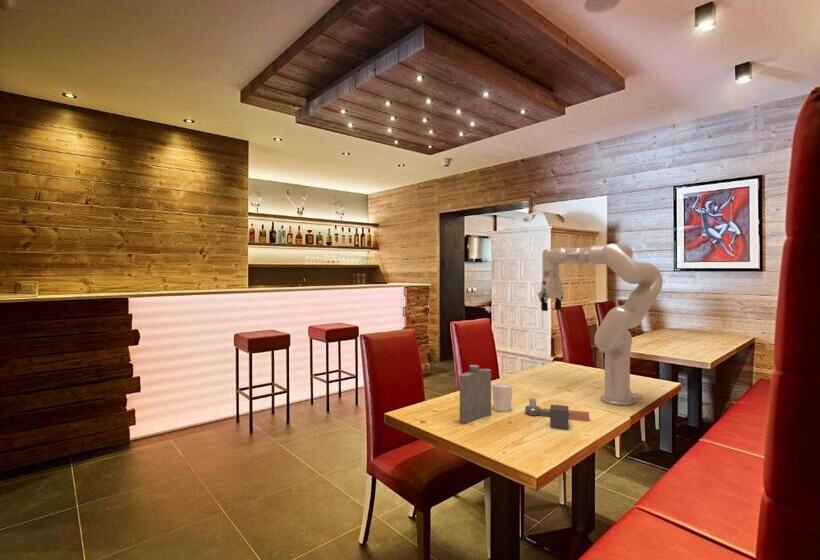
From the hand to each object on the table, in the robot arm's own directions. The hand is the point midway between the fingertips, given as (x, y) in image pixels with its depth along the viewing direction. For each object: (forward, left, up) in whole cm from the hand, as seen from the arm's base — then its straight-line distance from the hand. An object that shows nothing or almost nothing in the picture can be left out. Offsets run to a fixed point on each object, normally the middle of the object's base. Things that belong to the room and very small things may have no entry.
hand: (551, 310), depth 201 cm
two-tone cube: (-5, +55, -37) cm, 66 cm away
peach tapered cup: (+17, +43, -37) cm, 59 cm away
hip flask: (+25, +57, -37) cm, 72 cm away
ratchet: (-3, +45, -37) cm, 58 cm away
